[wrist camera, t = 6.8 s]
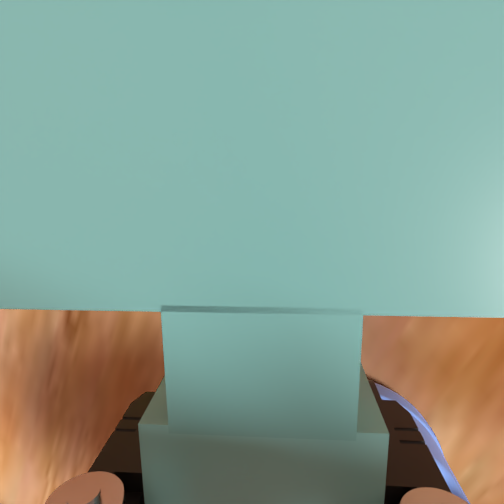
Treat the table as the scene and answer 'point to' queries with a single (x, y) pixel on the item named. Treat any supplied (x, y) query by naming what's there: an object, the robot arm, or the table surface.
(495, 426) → the table surface
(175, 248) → the teal flat paddle shape
